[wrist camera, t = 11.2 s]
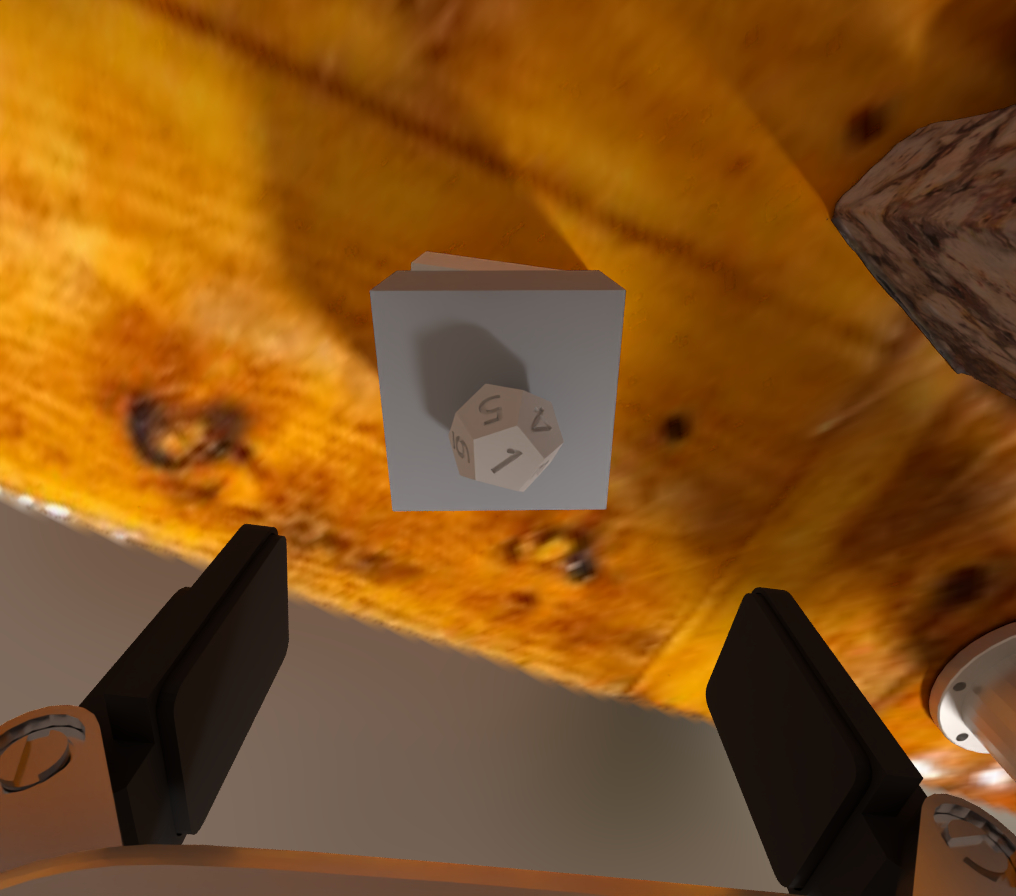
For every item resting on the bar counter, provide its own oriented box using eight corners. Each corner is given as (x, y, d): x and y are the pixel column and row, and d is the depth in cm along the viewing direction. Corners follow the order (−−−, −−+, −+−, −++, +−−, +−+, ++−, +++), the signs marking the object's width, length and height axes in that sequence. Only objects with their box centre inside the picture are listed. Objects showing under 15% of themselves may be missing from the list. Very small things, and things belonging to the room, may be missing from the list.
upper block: (598, 270, 21) (625, 290, 17) (586, 452, 25) (606, 509, 20) (396, 270, 21) (369, 290, 17) (412, 453, 25) (392, 511, 20)
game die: (430, 413, 19) (419, 451, 16) (517, 349, 18) (520, 377, 15) (493, 485, 20) (492, 531, 17) (577, 428, 19) (590, 467, 16)
